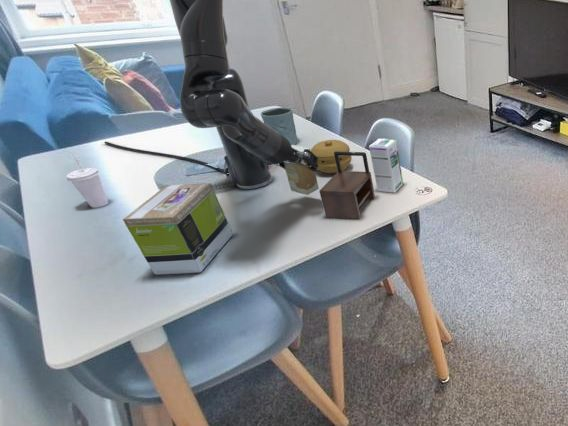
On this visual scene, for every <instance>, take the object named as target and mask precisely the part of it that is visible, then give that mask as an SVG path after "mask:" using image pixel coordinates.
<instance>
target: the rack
mask: <svg viewBox="0 0 568 426" xmlns="http://www.w3.org/2000/svg"><path fill="white" fill-rule="evenodd" d="M339 155H348V156H351V157H353V156H354V157H362V160H363V161H362V162H363V166H364V171H355V170H354V171H353V170H343V171H342V169H341V164H340V160H339ZM334 156H335V160H336V165H337V169H338V172H337V173H334V175H333V176H332V177H331V179H329V180H328V181H327V182H326V183H325V184H324V185H323V186H322V188H321V189H320V190H319V195H320V199H321V204H322V207H323V211H324V215H325V218H328V219H349V220H351V219H353V220H360V218H361V212H360V207H361V206H362V205H363V203H364V202H365V200H366V199H370V200H374V199H375V198H376V195H375V189H374V183H373V178H372V174H371V173H372V172H371V171H370V167H369V162H368V161H369V160H368V157H367V153H366V152H365V151H364V152H363V151H349V152H339V151H335V152H334Z"/></svg>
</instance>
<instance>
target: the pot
mask: <svg viewBox="0 0 568 426" xmlns="http://www.w3.org/2000/svg"><path fill="white" fill-rule="evenodd" d="M310 151H311V152H312V153H313V154H314V155H316V156H317V157H318V161H317V164H318V170H317V171H320V172H321V173H324V174H336V173H337V172H338V169H337V165H336V160H335V156H334V152H335V151H339V152H351V149H350V146H349V145H348V144H347V143H346V142H344V141H342V140H339V139H327V140H323V141H322V140H321V141H319V142H317V143H316V144H314V145H313V146H312V148H310ZM352 157H353V156H348V155H339V160H340V164H341V169H342V171H346V169H347V168H348V167H349V166H350V164H351V162H352V160H353V159H352Z"/></svg>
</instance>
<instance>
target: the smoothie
mask: <svg viewBox="0 0 568 426" xmlns="http://www.w3.org/2000/svg"><path fill="white" fill-rule="evenodd" d="M73 158H74V159H75V161H76V163H77V165H78V167H79V169H76V170H74V171H73V170H72V171H71V172H69V173H68V174H66V175H65V178H66V180H67V181H68V182H71V184H72V185H73V186H74V188H75V189H76V190H77V191H78V192H79V194H80V195H81V196H82V197H83V199H84V200H85V202H87V204H88V205H89V206H90V208H93V209H97V208H102V207H105V206H106V205H108V204H109V200H108V196H107V195H106V191H105V189H104V185H103V183H102V181H101V177H100V175H99V174H100V171H99V170H98V168H95V167H86V168H85V167H83V164H82V163H81V161H80V160H79V158H78V156H73Z"/></svg>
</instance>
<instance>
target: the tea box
mask: <svg viewBox="0 0 568 426" xmlns="http://www.w3.org/2000/svg"><path fill="white" fill-rule="evenodd" d="M122 221H123V222H124V224H125V227H126V228H127V230H128V232H129V233H130V235H131V237H132V238H133V240H134V242H135V244H136V245H137V247H138V248H139V250H140V252H141V254H142V255H143V257H144V259H145V261H146V262H147V264H148V266H149V268H150V269H151V271H152V272H153V274H154V275H158V276H159V275H176V274H177V275H178V274H180V275H181V274H194V273H195V274H196V273H197V274H198V273H202V272H203V271H204V269H205V268H206V267H207V266H208V264H209V263H210V262H211V261H212V259H213V258H214V257H216V255H217V254H218V253H219V251H220V250H221V249H222V248H223V247H224V246H225V244H226V243H227V242H228V241H229V240H230V238H231V237H232V236H233V235H234V233H233V230H232V229H231V226H230V224H229V222H228V220H227V217H226V214H225V212H224V210H223V208H222V205H221V203H220V201H219V199H218V196H217V195H216V192H215V190H214V188H213V185H212V183H211V182H208V183H207V182H205V183H204V182H203V183H188V184H166V185H165V186H163V187H162V188H161V189H160V190H158V191H157V192H156V193H154V194H153V195H152V196H151V197H150V198H148V199H147V200H145V201H144V202H143V203H142V204H140V205H139V206H138V207H136V208H135V209H134V210H133V211H131V212H130V213H129V214H127V215H126V216H124V217H123V218H122Z"/></svg>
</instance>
